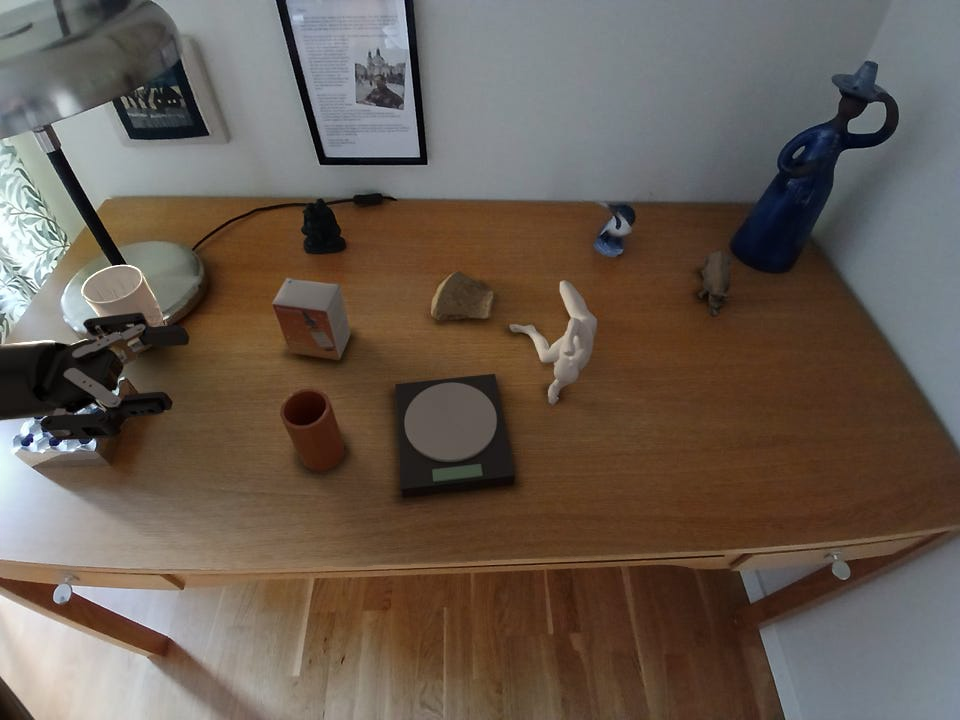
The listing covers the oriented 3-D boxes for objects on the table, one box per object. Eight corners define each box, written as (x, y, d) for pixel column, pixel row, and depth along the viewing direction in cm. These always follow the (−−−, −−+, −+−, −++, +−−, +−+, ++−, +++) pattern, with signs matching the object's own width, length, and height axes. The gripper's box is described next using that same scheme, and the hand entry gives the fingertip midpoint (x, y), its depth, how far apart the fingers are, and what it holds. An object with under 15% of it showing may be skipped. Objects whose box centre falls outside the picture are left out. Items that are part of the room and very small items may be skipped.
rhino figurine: (695, 325, 88) (708, 297, 83) (697, 269, 96) (708, 241, 92) (722, 330, 87) (736, 302, 83) (721, 273, 96) (734, 246, 91)
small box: (289, 354, 83) (269, 303, 75) (302, 327, 87) (285, 276, 79) (340, 361, 82) (326, 311, 74) (352, 333, 86) (339, 283, 78)
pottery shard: (430, 326, 89) (488, 329, 85) (422, 305, 86) (483, 306, 82) (452, 285, 96) (507, 286, 92) (445, 264, 93) (502, 264, 90)
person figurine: (518, 266, 80) (572, 338, 67) (594, 265, 85) (659, 333, 71) (501, 339, 88) (546, 417, 75) (571, 335, 92) (626, 408, 79)
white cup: (109, 329, 86) (74, 280, 78) (160, 306, 89) (131, 257, 82) (127, 359, 82) (91, 311, 74) (179, 334, 85) (151, 286, 78)
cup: (344, 468, 71) (329, 425, 63) (299, 473, 71) (277, 431, 63) (345, 430, 75) (330, 386, 67) (301, 435, 74) (282, 391, 66)
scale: (514, 484, 70) (515, 473, 68) (402, 498, 69) (400, 486, 66) (494, 384, 80) (495, 370, 78) (396, 394, 79) (394, 381, 76)
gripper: (-53, 421, 48) (145, 402, 49) (12, 304, 57) (178, 291, 58) (3, 463, 54) (179, 445, 55) (54, 351, 63) (204, 338, 64)
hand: (178, 366), depth 57 cm, fingers open, 8 cm apart
